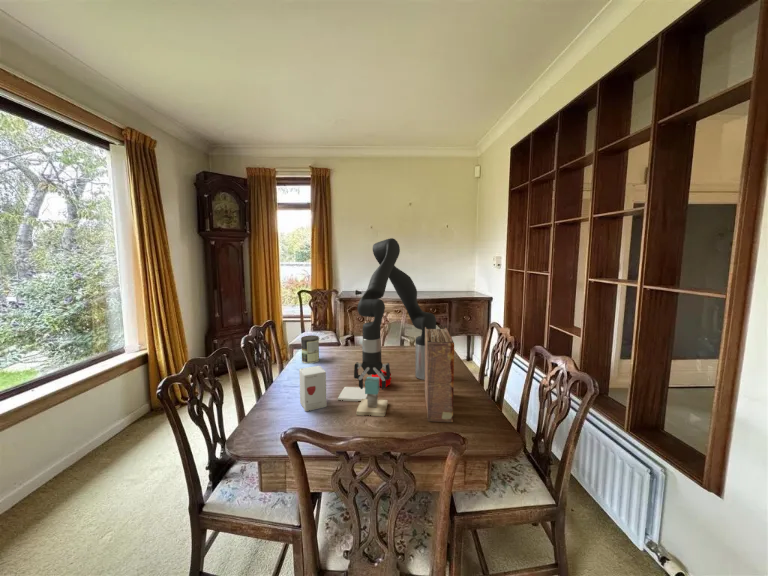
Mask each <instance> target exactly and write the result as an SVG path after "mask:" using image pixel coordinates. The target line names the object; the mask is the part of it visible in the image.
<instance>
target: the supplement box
mask: <svg viewBox="0 0 768 576" xmlns="http://www.w3.org/2000/svg"><path fill="white" fill-rule="evenodd" d="M299 402H300V405H301V406H302V408H303V410H304V412H310V411H313V410H317V409H318V410H319V409H323V408H327V372H326V371H325V369H324V368H323V367H322V366H321V365H316V366H315V365H314V366H310V367H309V366H308V367H303V368H299ZM309 410H310V411H309Z"/></svg>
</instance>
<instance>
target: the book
mask: <svg viewBox="0 0 768 576" xmlns="http://www.w3.org/2000/svg"><path fill="white" fill-rule="evenodd" d="M454 368H455V342H454V340H453V338H452V336H451V335H450V332H449V331H448V329H447V327H444V328H439V329H438V328H436V329H426V327H425V380H424V398H425V406H426V407H425V408H426V417H427V422H432V423H433V422H434V423H435V422H436V423H437V422H439V423H440V422H441V423H454V388H455V387H454V385H455V384H454V383H455V382H454V381H455V380H454V379H455V369H454Z"/></svg>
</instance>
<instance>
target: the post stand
mask: <svg viewBox="0 0 768 576" xmlns="http://www.w3.org/2000/svg"><path fill="white" fill-rule="evenodd" d="M388 403H389V402H388V399H379V398H378V394H367V399H361V402H359V404H358V406H357V409H356V413H355V414H356V416H364V415H369V416H368V417H384V416H385V417H386V412H387V408H388ZM370 415H371V416H370Z"/></svg>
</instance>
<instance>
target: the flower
mask: <svg viewBox="0 0 768 576" xmlns="http://www.w3.org/2000/svg"><path fill="white" fill-rule="evenodd" d="M381 371H382V372H383V374H384V375H385V376H386V370H383V369H381ZM391 376H392V374H391V372H390V379H389V380H386V387H385V388H387V387H388V386H389V385H391V384H392V383H391V380H392V377H391ZM371 377H379V376H378V375H377V374H376V375H372V374H371ZM379 387H381V388H382V379H381V378H380V377H379Z"/></svg>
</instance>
